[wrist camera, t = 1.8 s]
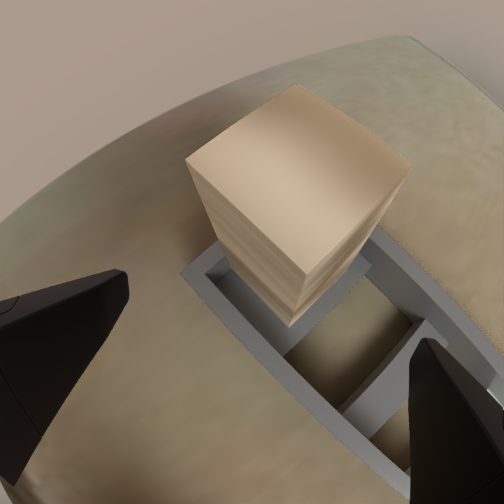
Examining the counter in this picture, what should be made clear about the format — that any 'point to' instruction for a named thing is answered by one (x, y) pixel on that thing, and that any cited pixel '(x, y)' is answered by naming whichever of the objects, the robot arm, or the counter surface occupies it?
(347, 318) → the counter surface
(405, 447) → the counter surface
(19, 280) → the counter surface
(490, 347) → the box
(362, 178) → the birch block
